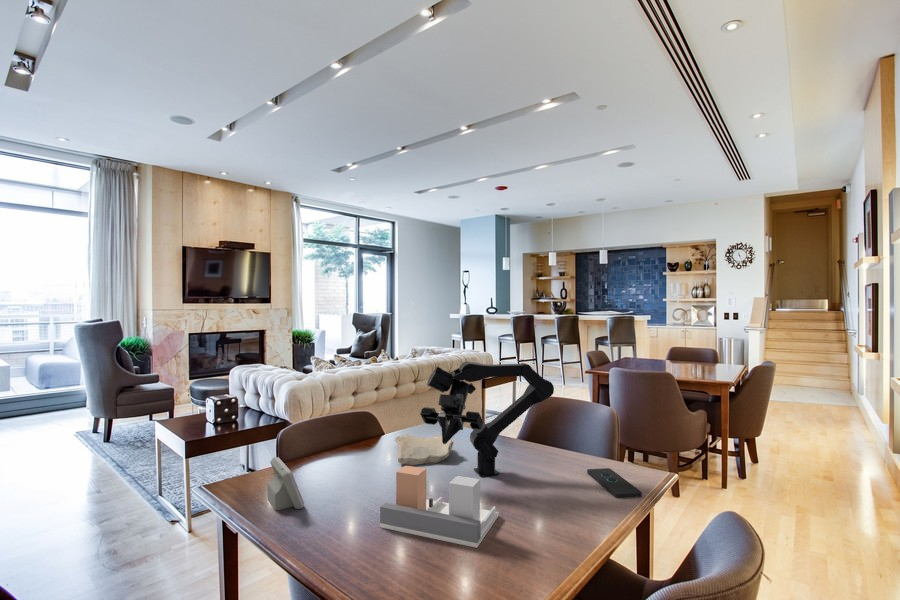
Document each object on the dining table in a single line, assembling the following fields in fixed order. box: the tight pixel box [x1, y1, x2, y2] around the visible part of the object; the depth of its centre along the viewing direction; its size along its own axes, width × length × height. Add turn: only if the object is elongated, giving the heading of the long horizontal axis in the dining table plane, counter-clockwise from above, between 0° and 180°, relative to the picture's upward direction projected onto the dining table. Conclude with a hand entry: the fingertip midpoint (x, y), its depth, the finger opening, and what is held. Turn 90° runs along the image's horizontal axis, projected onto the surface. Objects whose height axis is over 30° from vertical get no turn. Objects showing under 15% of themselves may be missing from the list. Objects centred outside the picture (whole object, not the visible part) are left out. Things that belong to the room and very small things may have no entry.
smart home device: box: [586, 467, 643, 499], centre depth 144 cm, size 8×2×20 cm
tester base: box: [379, 496, 500, 548], centre depth 119 cm, size 17×25×5 cm
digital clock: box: [266, 456, 305, 511], centre depth 131 cm, size 16×9×11 cm, turn 22°
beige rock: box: [394, 434, 454, 466], centre depth 172 cm, size 24×8×20 cm
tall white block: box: [448, 475, 481, 521], centre depth 114 cm, size 5×6×11 cm
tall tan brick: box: [395, 465, 427, 510], centre depth 121 cm, size 5×6×11 cm
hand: (444, 443), depth 139 cm, fingers closed
